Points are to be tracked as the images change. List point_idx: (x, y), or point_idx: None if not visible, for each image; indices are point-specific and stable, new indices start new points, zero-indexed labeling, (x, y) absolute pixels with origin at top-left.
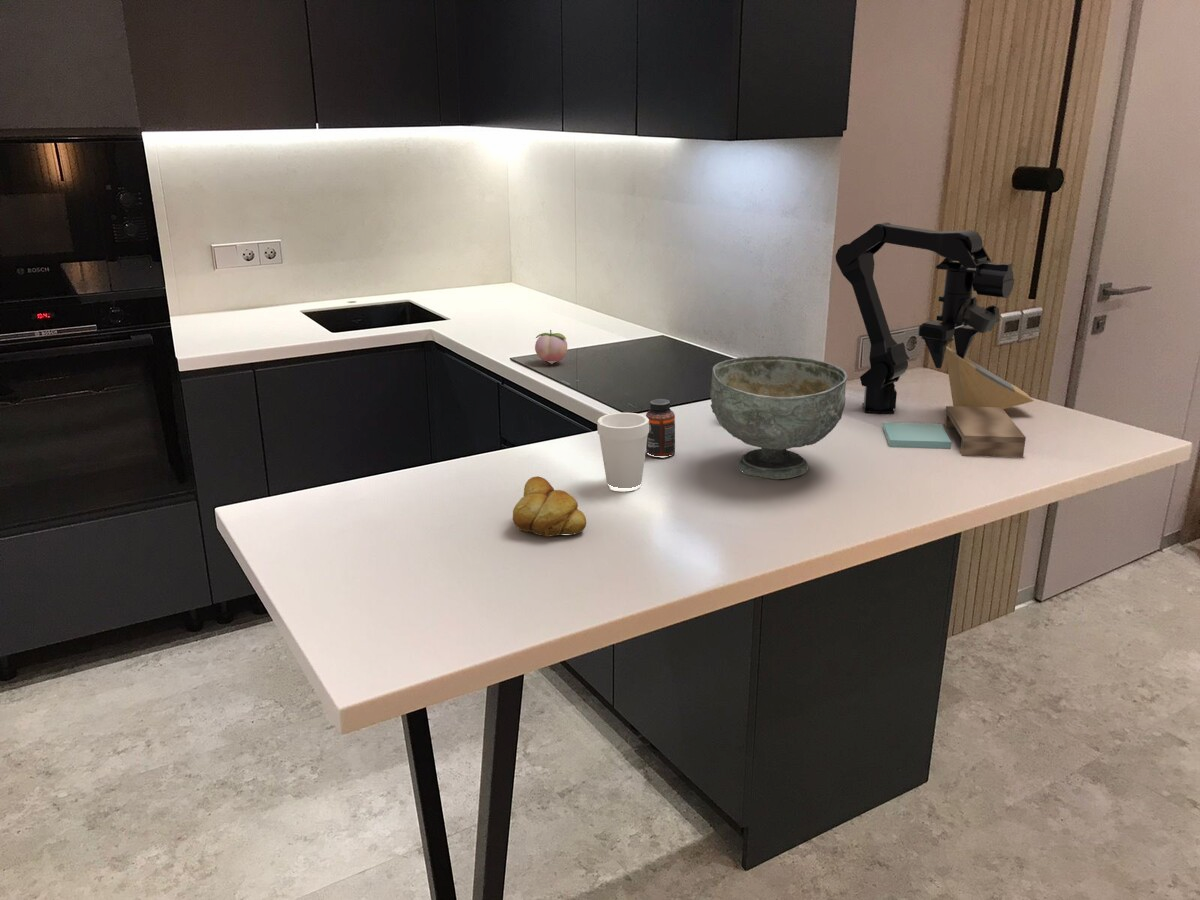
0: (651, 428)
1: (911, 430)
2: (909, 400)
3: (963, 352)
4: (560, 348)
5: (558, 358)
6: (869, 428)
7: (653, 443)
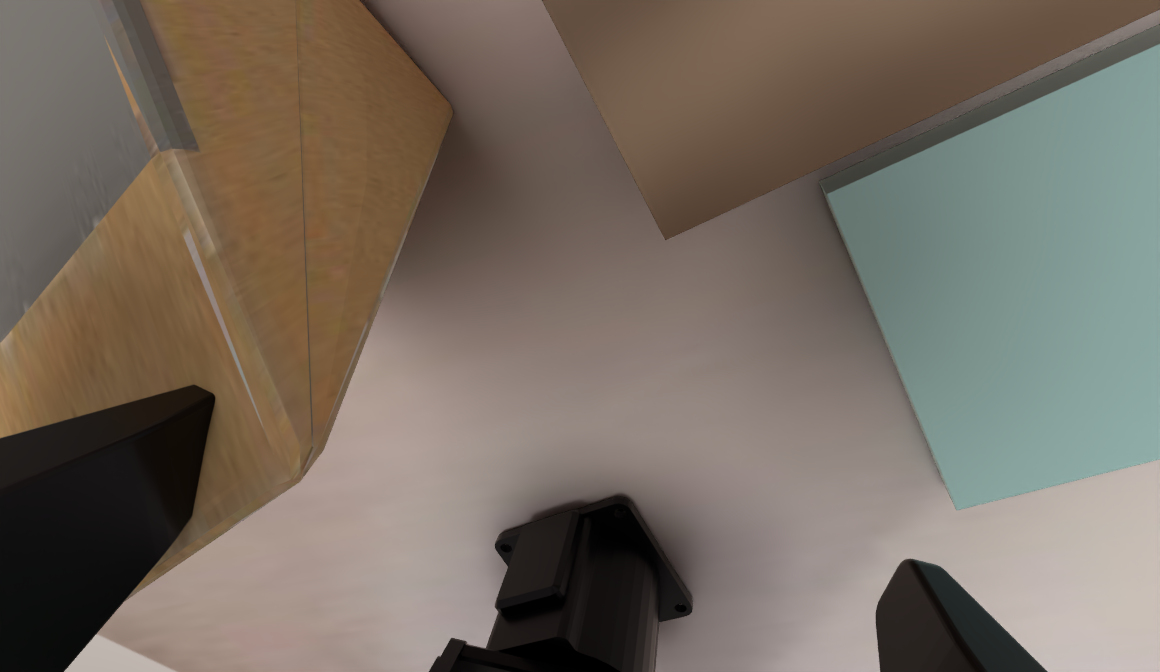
0: None
1: (1101, 326)
2: (345, 479)
3: (122, 464)
4: None
5: None
6: (971, 537)
7: None
